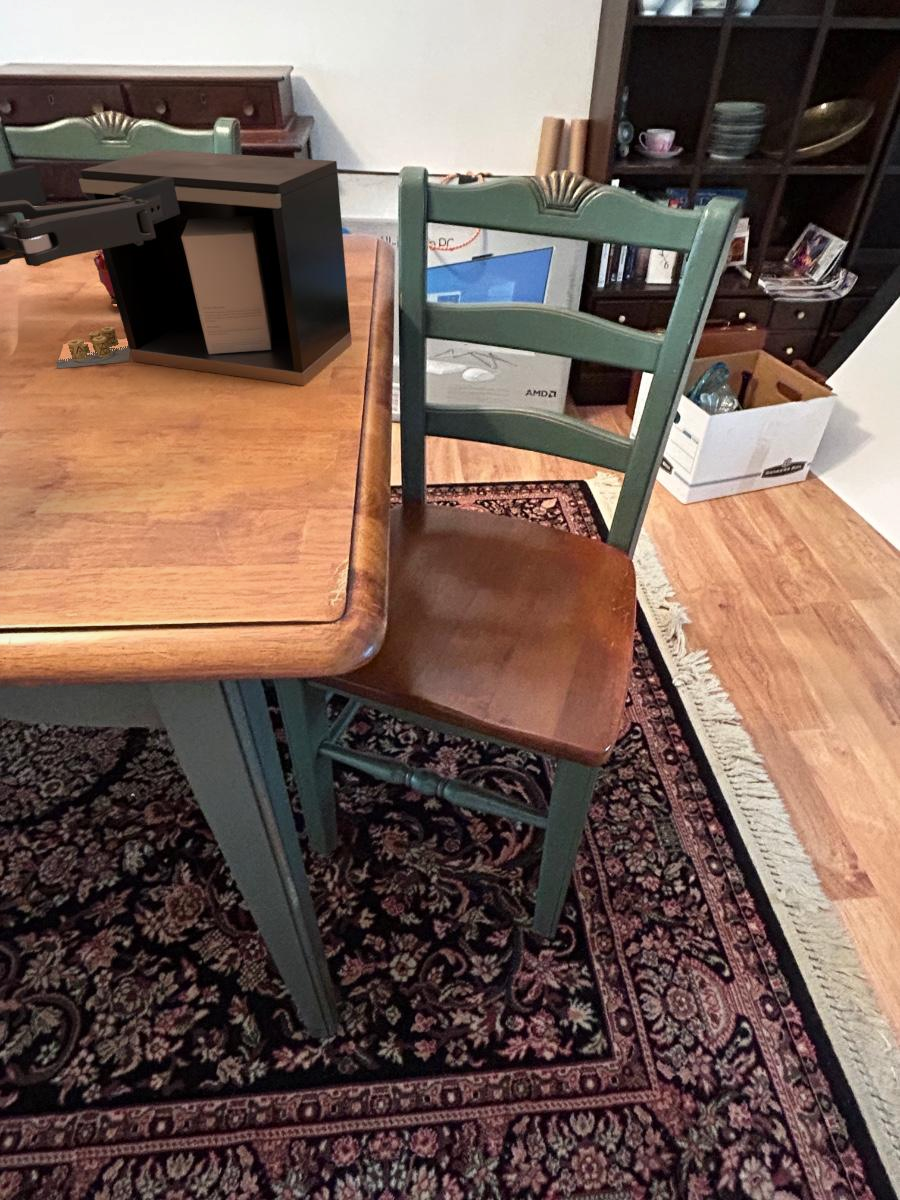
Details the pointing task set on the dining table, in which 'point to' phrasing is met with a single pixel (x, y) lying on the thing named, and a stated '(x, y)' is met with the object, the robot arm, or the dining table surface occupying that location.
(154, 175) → the open cubby shelf
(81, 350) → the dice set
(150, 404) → the dining table surface
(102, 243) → the robot arm
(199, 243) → the white packaging box
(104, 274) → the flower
